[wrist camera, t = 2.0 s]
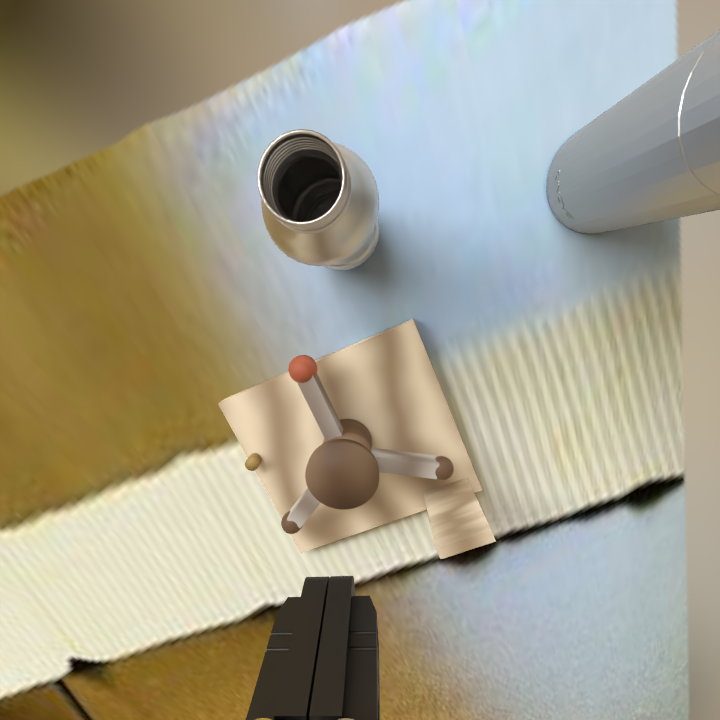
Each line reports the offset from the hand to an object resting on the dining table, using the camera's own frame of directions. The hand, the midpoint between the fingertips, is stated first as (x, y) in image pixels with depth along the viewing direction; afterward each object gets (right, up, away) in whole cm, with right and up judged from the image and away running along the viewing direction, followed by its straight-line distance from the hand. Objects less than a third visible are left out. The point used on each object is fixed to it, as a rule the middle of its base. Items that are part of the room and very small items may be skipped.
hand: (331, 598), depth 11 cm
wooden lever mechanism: (0, -1, +27) cm, 27 cm away
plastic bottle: (-1, +20, +23) cm, 30 cm away
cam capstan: (-1, +1, +25) cm, 25 cm away
